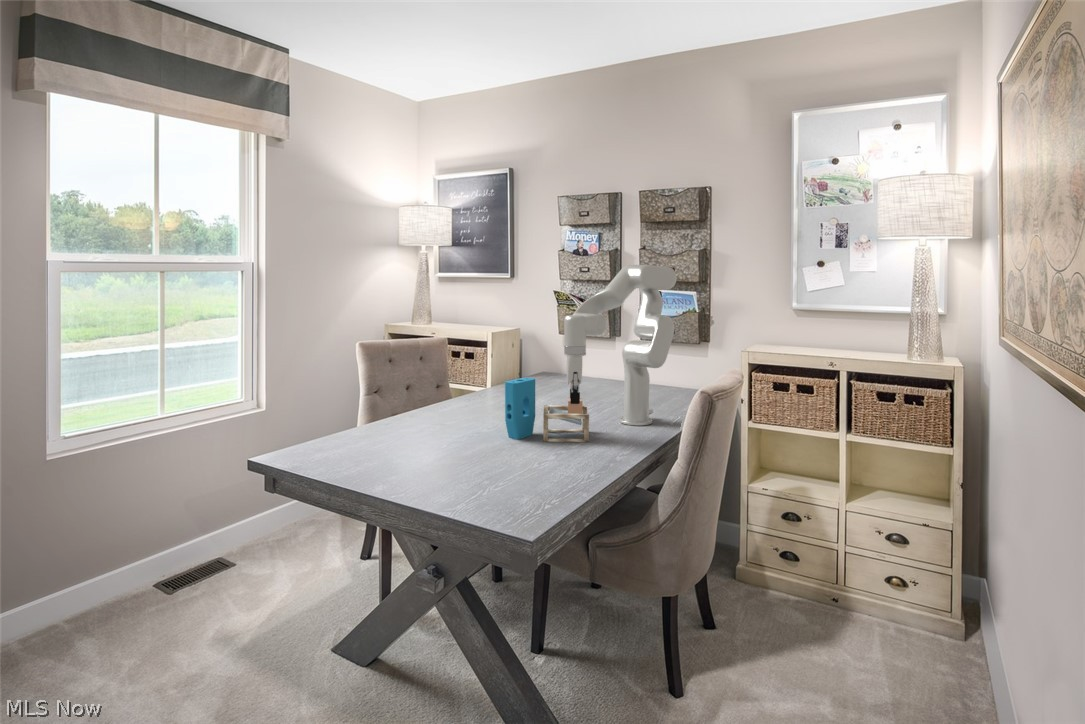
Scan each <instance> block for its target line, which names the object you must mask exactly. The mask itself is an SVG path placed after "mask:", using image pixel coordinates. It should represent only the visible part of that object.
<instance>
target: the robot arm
mask: <svg viewBox="0 0 1085 724" xmlns="http://www.w3.org/2000/svg"><path fill="white" fill-rule="evenodd" d="M677 277H678V276H677V273H676V271H675V270H674V268H672V267H669V266H661V265H659V266H658V265H652V264H650V265H649V264H629V265H625V266H623V267H622V268H621V269H620V270H619V272H617V274H616V275H615V276H614V277H613V278H612V280H610V282H609V284H607V286H606V287H605V288H604V289H603V290H602V291H600V292H599V291H598V292H597V293H596V294H594V295H592V296H591V297H589V298H587V299H586V300H585V301H583V302H582V303H581V304H580V305H579V306H578V308H576V310H575V311H574V313H573V314H568V315H566V316H565V317H564V319H563V320H564V330H563V331H564V332H563V335H564V340H563V341H564V342H563V343H564V344H563V345H564V346H563V350H564V351H563V352H564V353H563V355H564V356H566V383H567V385H570V388H569V398H571V401H570V403H571V404H580V398H581V392H580V385H581V384H582V380H583V379H582V377H583V357H584V356H586V355H587V336H600V335H602V334H604V333H605V332H606V331H607V329H608V326H609V325H608V323H609V322H608V321H607V318H606V317H605V316H604V315H602V314H601V313H603V312H607V311H610V310H614V309H617V308H619V307H621V306H623V305H624V303H625V302H626V300H627V299H628V298H629V297H630V296H631V294H632V293H633V292H634V290H636V289H638V290H639V293H640V297H641V300H640V305H639V309H638V311H637V316H636V319H635V322H634V326H633V333H634V335H635V336H636V337H638V338H640V339H645V341H644V340H636V339H635V340H631V341H628V342H626V343H625V344H624V345H623V347H622V352H621V355H622V362H623V369H624V380H623V382H624V384H623V385H624V386H623V388H624V389H623V390H624V391H623V392H624V393H623V416H621V417H619V422H620V423H621V424H624V425H627V426H637V427H638V426H639V427H640V426H648V425H651V424H653V419H652V417H650V415H652V414H654V409H652V408H650V381H651V380H650V373H649V370H648V368H651V369H660V368H661V367H662V366H663V365H664V364H665V363H666V360H667V358H668V354H669V351H670V348H671V345H672V341H673V337H674V334H675V324H674V321H673V319H672V318H671V317H670V316H668V315H664V314H662V312H663V306H664V301H663V297H662V295H661V293H660V290H661V291H663V290H664V291H668V290H671V289H672V288H673V287H674V286H675V285H676V283H677V279H678V278H677ZM646 340H651V341H646ZM649 408H650V409H649Z"/></svg>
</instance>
